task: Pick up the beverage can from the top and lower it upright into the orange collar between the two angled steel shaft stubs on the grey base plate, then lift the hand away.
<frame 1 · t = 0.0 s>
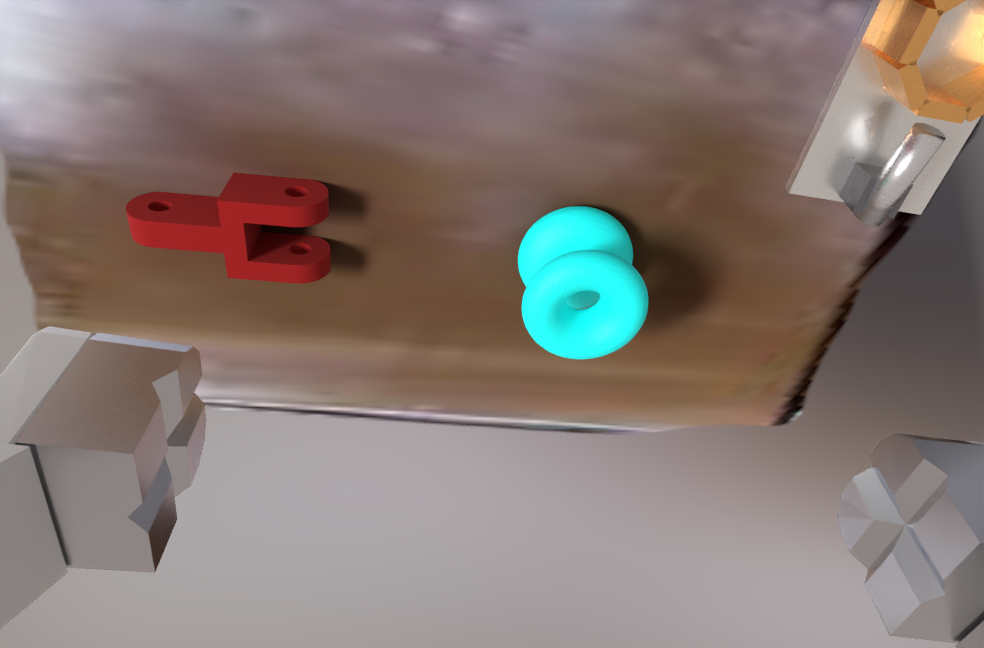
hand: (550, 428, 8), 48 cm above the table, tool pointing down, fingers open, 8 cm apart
mechanical linkage: (239, 209, 61), on the table
donuts: (573, 249, 63), on the table
coupling base: (941, 28, 52), on the table
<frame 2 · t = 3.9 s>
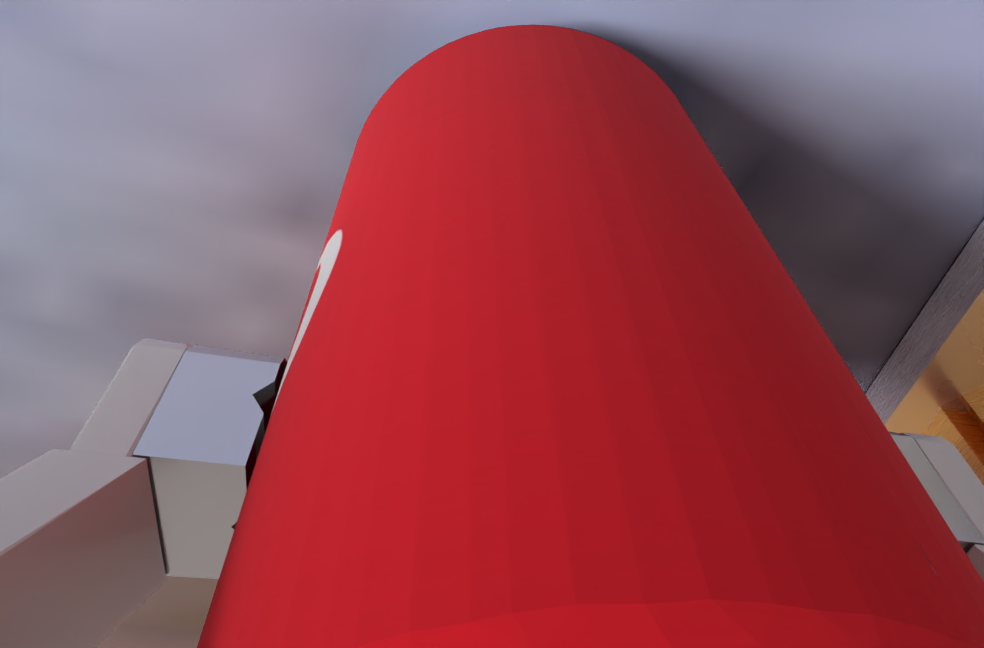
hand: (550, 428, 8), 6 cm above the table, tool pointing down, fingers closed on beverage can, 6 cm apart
beverage can: (523, 182, 13), on the table, touching gripper
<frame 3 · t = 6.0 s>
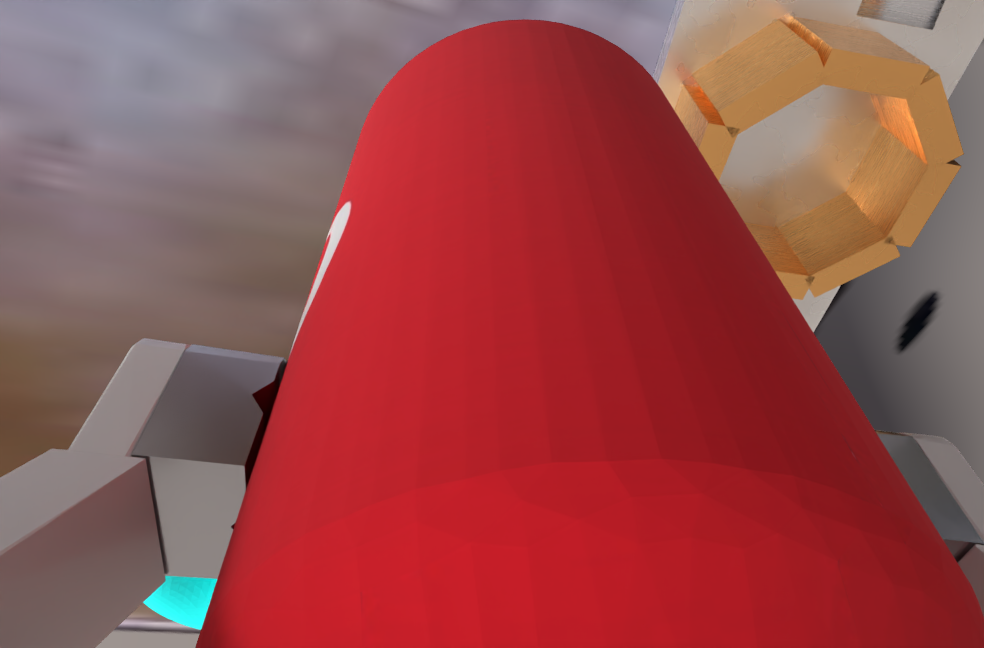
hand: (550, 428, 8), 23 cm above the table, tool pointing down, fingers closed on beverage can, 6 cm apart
beverage can: (518, 170, 14), point 16 cm above the table, touching gripper
donuts: (268, 436, 42), on the table
coupling base: (772, 135, 31), on the table
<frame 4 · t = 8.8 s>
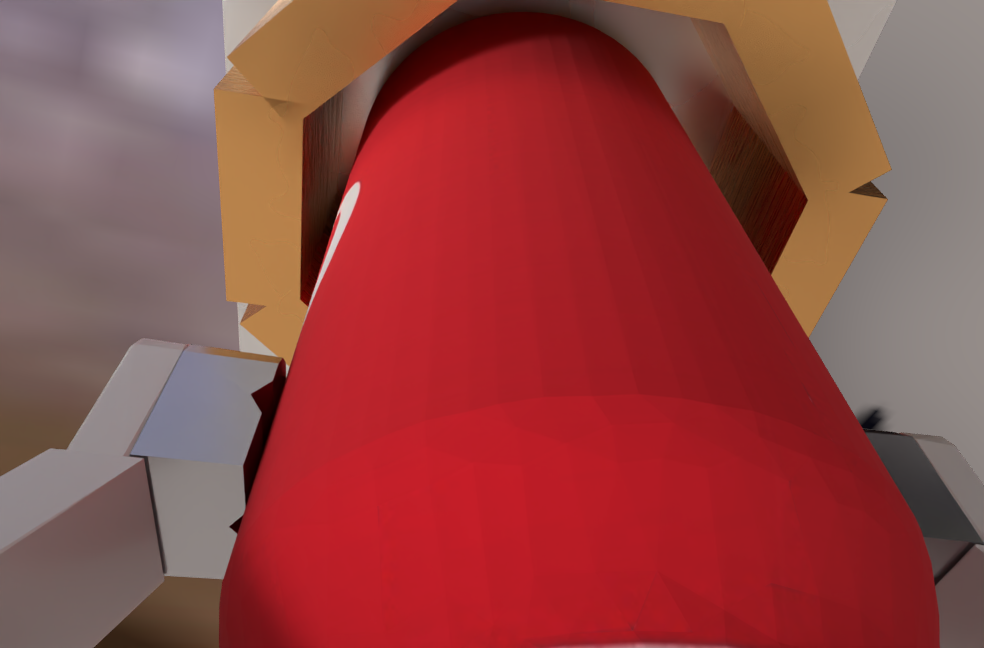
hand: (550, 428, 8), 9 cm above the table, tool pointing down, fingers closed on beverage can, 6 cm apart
beverage can: (517, 157, 15), point 1 cm above the table, touching coupling base, gripper
coupling base: (526, 129, 15), on the table
when the fingers open (9 cm above the table, at t = 9.6 s): beverage can stays where it is, resting on coupling base.
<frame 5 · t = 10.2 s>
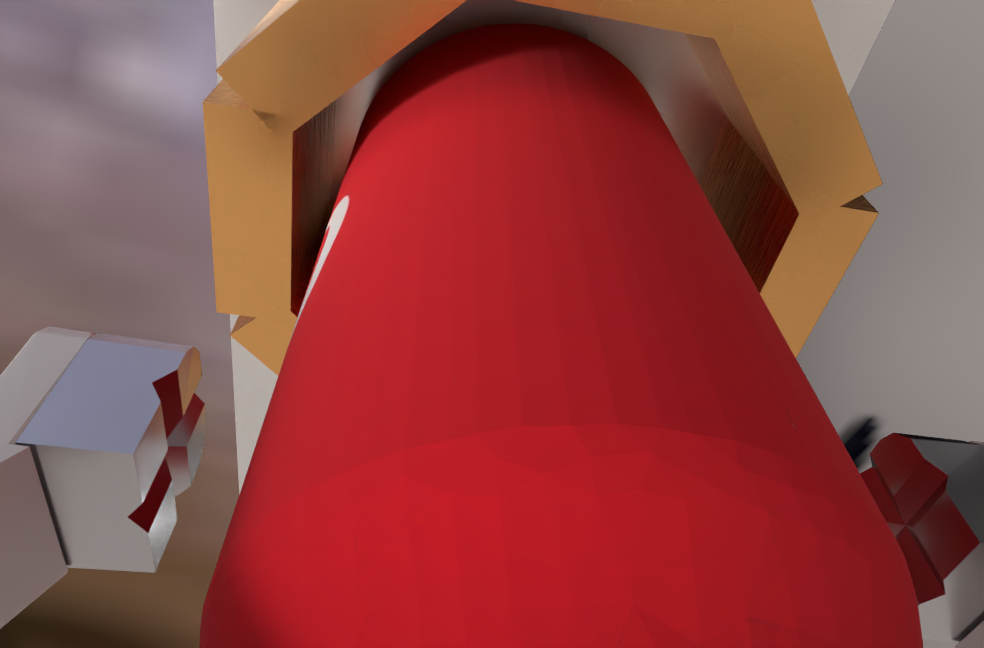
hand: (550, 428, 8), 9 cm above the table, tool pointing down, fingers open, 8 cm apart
beverage can: (510, 166, 15), point 1 cm above the table, touching coupling base
coupling base: (519, 139, 15), on the table
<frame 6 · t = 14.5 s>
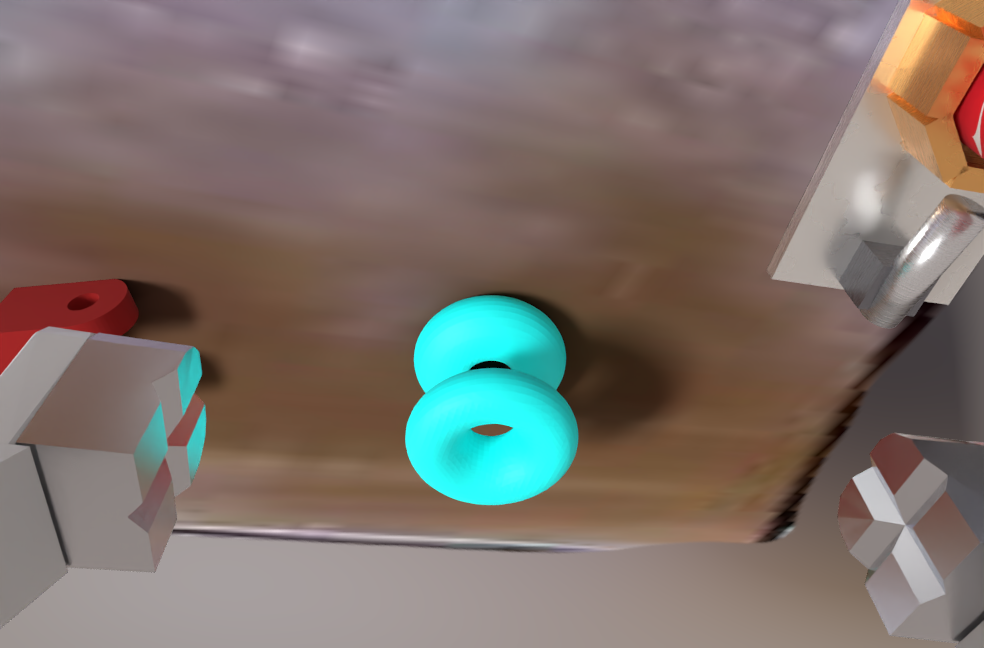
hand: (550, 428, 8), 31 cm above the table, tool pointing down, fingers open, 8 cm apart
mechanical linkage: (44, 328, 47), on the table
donuts: (489, 345, 48), on the table
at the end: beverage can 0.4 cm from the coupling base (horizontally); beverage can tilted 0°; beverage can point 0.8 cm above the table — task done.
